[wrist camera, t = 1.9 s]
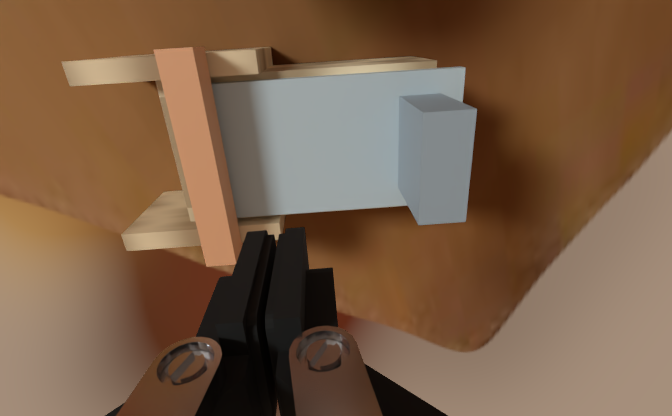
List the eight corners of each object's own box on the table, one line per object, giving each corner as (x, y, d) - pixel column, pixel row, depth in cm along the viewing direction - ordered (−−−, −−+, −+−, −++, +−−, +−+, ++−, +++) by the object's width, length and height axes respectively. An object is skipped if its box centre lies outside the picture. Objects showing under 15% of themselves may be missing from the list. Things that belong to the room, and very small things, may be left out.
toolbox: (412, 37, 26) (445, 37, 19) (408, 188, 31) (433, 228, 24) (126, 56, 26) (61, 62, 19) (167, 205, 30) (126, 250, 24)
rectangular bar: (204, 46, 19) (192, 47, 17) (242, 247, 24) (236, 264, 22) (169, 48, 19) (153, 49, 17) (214, 249, 24) (206, 266, 22)
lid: (460, 66, 21) (510, 75, 16) (450, 197, 25) (488, 242, 19) (181, 84, 21) (133, 101, 15) (210, 214, 24) (179, 265, 19)
